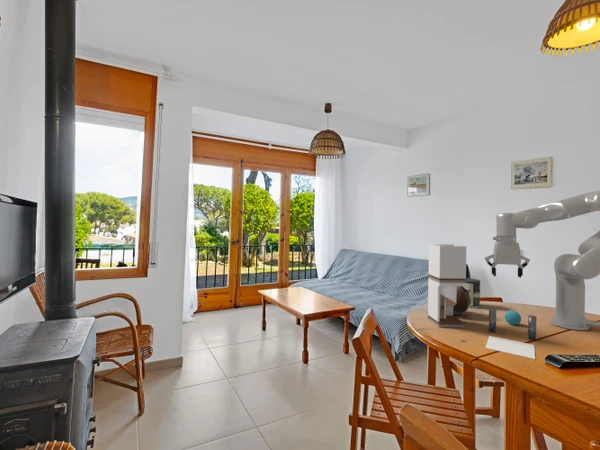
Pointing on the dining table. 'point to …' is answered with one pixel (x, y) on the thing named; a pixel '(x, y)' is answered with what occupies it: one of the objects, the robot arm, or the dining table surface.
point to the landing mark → (511, 347)
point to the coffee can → (473, 291)
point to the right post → (532, 327)
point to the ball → (513, 317)
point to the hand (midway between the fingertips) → (506, 276)
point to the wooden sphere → (461, 301)
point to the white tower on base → (445, 282)
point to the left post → (492, 320)
